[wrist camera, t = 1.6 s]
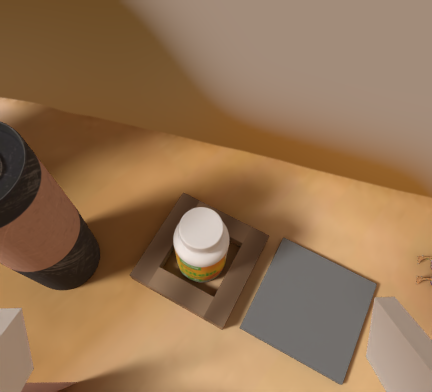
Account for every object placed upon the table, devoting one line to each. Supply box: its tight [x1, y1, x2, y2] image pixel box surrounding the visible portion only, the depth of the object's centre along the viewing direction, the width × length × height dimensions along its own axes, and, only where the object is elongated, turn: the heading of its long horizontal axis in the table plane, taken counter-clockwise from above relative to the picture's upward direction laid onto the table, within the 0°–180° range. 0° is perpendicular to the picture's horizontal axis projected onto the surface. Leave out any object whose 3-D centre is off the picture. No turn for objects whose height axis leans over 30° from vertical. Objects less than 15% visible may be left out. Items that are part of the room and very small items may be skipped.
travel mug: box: [0, 122, 100, 290], centre depth 33 cm, size 8×8×20 cm
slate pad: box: [240, 238, 377, 385], centre depth 40 cm, size 11×11×1 cm
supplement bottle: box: [173, 207, 229, 282], centre depth 38 cm, size 5×5×10 cm
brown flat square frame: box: [130, 193, 269, 329], centre depth 41 cm, size 11×11×2 cm
